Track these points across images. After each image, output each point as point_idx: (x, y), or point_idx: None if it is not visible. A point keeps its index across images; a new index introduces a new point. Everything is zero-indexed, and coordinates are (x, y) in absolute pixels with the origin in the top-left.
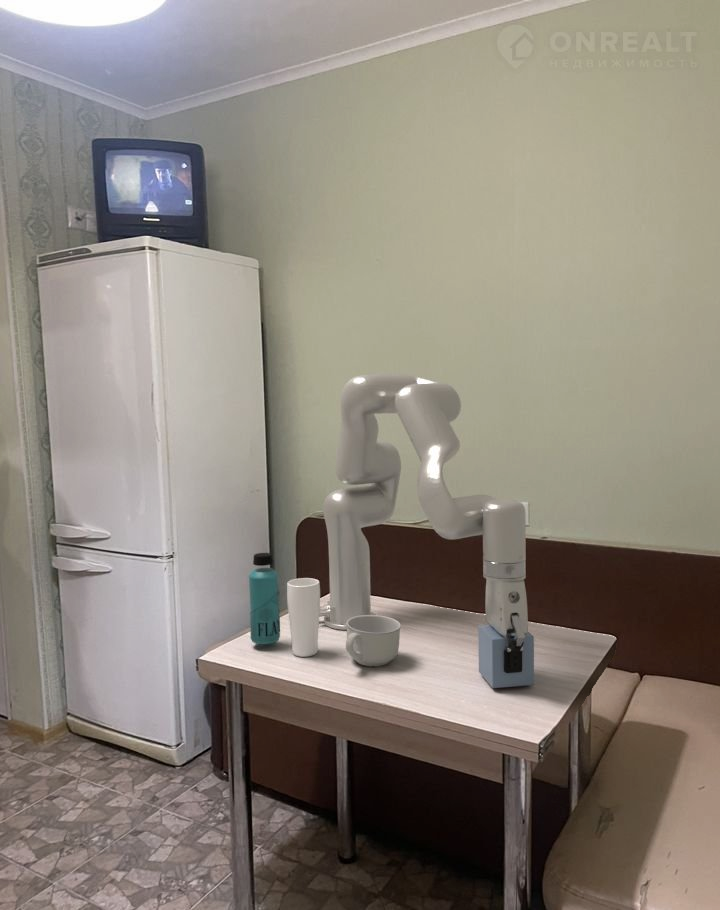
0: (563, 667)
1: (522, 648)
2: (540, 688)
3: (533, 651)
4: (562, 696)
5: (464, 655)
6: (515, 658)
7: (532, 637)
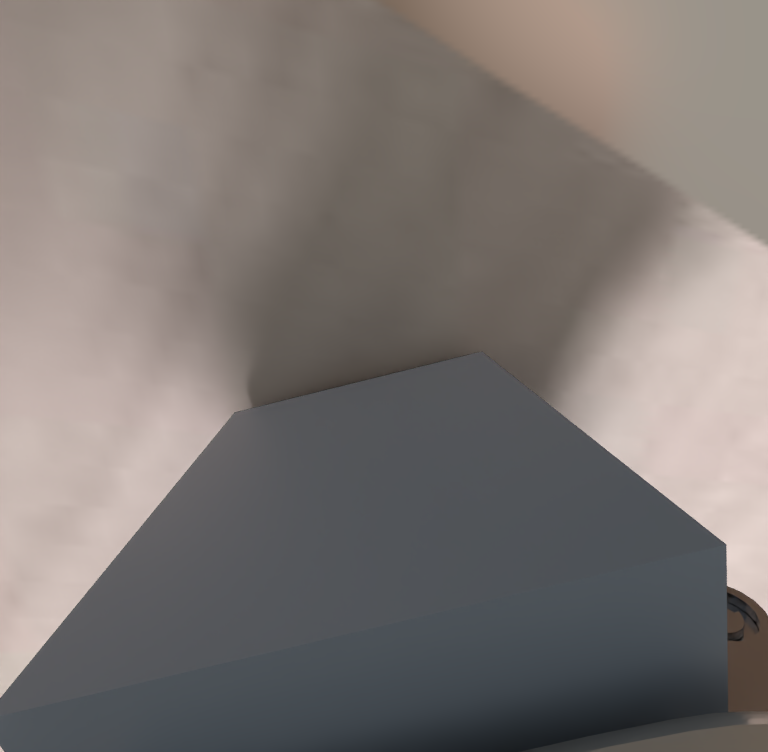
0: (98, 77)
1: (761, 612)
2: (468, 308)
3: (582, 437)
4: (583, 197)
5: (34, 649)
6: None
7: (717, 557)
